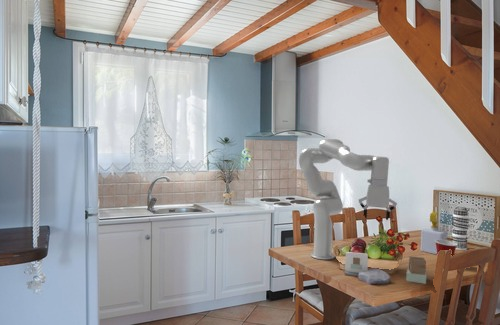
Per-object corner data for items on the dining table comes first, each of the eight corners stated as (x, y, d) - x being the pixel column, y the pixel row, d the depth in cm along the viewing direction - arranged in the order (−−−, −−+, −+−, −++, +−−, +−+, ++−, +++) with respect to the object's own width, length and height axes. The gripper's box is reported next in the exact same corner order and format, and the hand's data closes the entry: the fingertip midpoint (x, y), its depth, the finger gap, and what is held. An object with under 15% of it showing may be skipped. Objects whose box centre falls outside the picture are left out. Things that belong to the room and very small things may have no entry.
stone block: (391, 286, 174) (375, 275, 183) (393, 276, 173) (376, 265, 182) (372, 291, 169) (356, 279, 177) (374, 281, 168) (357, 270, 176)
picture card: (345, 271, 188) (345, 250, 188) (367, 273, 185) (367, 252, 185) (344, 275, 182) (345, 253, 182) (367, 277, 179) (367, 255, 179)
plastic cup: (457, 268, 196) (458, 245, 196) (433, 265, 201) (434, 242, 200) (456, 263, 206) (457, 240, 205) (433, 260, 210) (434, 238, 210)
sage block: (407, 276, 183) (407, 268, 183) (426, 279, 180) (426, 270, 180) (406, 281, 176) (406, 272, 176) (425, 284, 173) (426, 275, 172)
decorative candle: (447, 247, 239) (449, 206, 238) (455, 245, 245) (456, 205, 244) (463, 251, 232) (464, 208, 231) (470, 248, 238) (472, 207, 237)
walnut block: (408, 269, 181) (409, 256, 181) (422, 270, 180) (423, 257, 180) (411, 273, 175) (411, 259, 175) (425, 274, 174) (426, 261, 174)
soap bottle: (446, 254, 224) (448, 213, 223) (440, 255, 220) (442, 214, 219) (426, 249, 234) (427, 210, 233) (420, 251, 230) (421, 211, 229)
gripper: (359, 182, 184) (357, 218, 185) (399, 185, 179) (396, 222, 181) (359, 180, 191) (357, 215, 192) (397, 183, 187) (394, 219, 188)
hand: (376, 218), depth 186 cm, fingers open, 9 cm apart
